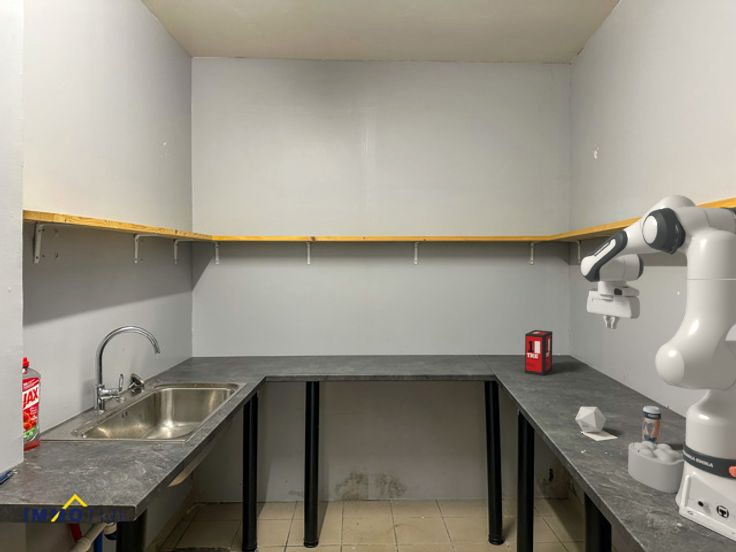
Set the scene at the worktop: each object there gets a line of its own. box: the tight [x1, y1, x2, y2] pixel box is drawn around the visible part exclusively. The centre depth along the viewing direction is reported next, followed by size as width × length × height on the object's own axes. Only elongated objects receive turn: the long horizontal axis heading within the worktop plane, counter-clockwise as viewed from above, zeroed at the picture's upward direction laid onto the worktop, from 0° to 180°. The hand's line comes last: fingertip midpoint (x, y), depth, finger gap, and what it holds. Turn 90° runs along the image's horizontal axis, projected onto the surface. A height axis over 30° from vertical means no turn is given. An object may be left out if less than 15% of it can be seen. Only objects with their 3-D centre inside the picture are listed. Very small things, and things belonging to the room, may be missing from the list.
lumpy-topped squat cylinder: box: [627, 441, 684, 494], centre depth 115 cm, size 10×13×9 cm
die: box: [575, 406, 607, 433], centre depth 146 cm, size 8×9×10 cm
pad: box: [580, 430, 619, 442], centre depth 143 cm, size 8×8×1 cm
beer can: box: [641, 405, 662, 445], centre depth 134 cm, size 5×5×12 cm
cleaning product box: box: [524, 329, 553, 377], centre depth 226 cm, size 16×9×20 cm, turn 143°
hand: (611, 328), depth 155 cm, fingers closed
